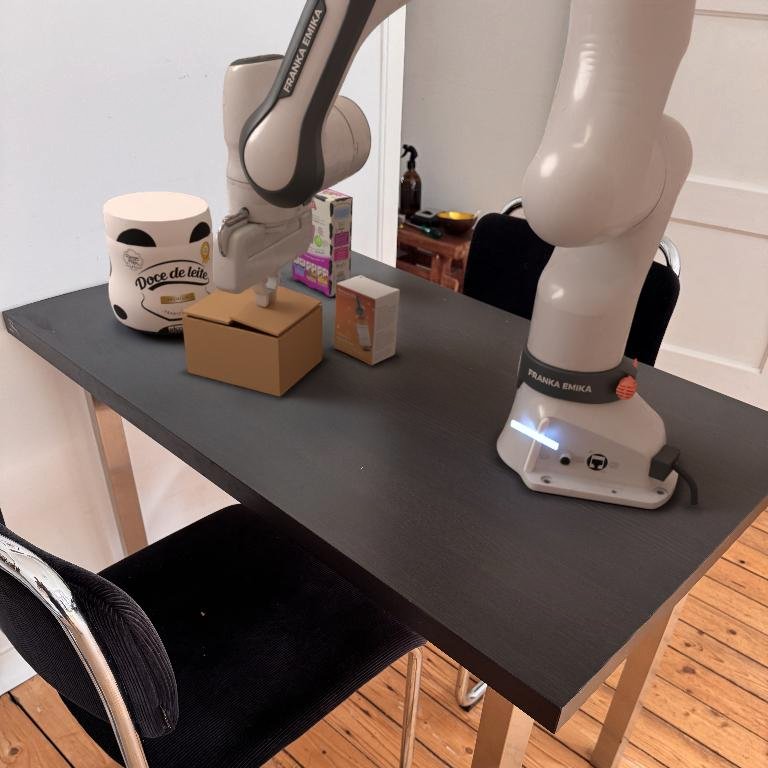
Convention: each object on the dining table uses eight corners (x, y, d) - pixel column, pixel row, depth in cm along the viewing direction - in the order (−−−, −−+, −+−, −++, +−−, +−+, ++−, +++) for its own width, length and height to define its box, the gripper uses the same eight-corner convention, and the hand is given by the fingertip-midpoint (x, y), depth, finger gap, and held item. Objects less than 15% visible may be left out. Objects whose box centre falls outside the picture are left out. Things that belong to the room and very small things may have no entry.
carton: (322, 359, 118) (322, 300, 112) (280, 397, 108) (278, 333, 103) (235, 338, 122) (232, 280, 117) (187, 372, 112) (181, 310, 107)
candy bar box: (352, 292, 140) (354, 196, 130) (330, 298, 137) (331, 201, 127) (312, 273, 146) (312, 180, 136) (291, 279, 143) (289, 185, 133)
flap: (321, 303, 113) (322, 300, 112) (277, 336, 103) (277, 333, 103) (276, 287, 114) (277, 284, 114) (229, 318, 104) (229, 315, 104)
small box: (333, 349, 121) (334, 282, 115) (357, 338, 125) (360, 273, 118) (371, 366, 117) (375, 298, 111) (396, 355, 120) (400, 288, 114)
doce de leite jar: (177, 354, 117) (163, 232, 106) (89, 326, 123) (68, 208, 112) (246, 315, 129) (240, 203, 118) (164, 292, 135) (151, 182, 124)
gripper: (241, 225, 92) (247, 335, 100) (320, 185, 107) (319, 283, 115) (195, 215, 93) (204, 325, 102) (279, 177, 109) (281, 275, 117)
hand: (266, 302), depth 109 cm, fingers closed, pressing on flap
